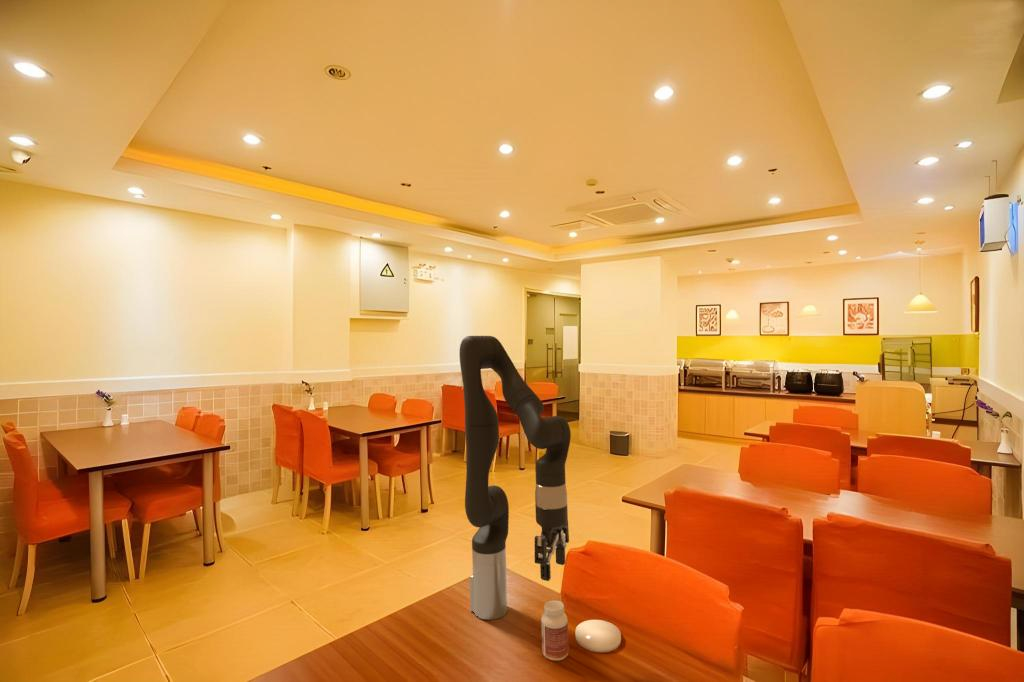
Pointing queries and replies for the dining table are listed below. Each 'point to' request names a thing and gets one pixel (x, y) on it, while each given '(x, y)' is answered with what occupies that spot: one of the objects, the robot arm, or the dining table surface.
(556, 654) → the pill bottle
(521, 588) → the dining table surface
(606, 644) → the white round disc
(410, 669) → the dining table surface
